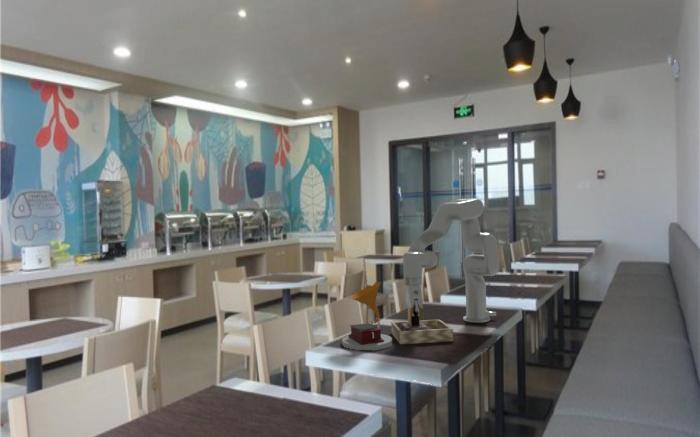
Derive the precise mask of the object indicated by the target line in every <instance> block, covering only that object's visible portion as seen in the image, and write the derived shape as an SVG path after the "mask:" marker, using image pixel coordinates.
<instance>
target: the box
mask: <svg viewBox="0 0 700 437" xmlns="http://www.w3.org/2000/svg"><path fill="white" fill-rule="evenodd" d="M420 322H422V323H423V324H424V325H426V326H427V330H414V331H401V323H408V320H407V321H405V320H404V321H391V322H390V323H391V324H390V325H391V335H392V336H393V337H394V338H395V340H396V341H397V342H398V343H399V345H410V344H413V345H414V344H426V343H427V344H428V343H443V342H444V343H445V342H454V328H452V327H451V326H449V325H448V324H446V323H445V322H444V321H443V320H441V319H426V320H424V319H423V320H422V321H420Z"/></svg>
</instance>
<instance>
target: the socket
mask: <svg viewBox="0 0 700 437" xmlns="http://www.w3.org/2000/svg"><path fill="white" fill-rule="evenodd" d="M414 330H427V326H426V325H424V324H423V323H422V322H420V326H416V327H409V326H408V323H401V331H414Z"/></svg>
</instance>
